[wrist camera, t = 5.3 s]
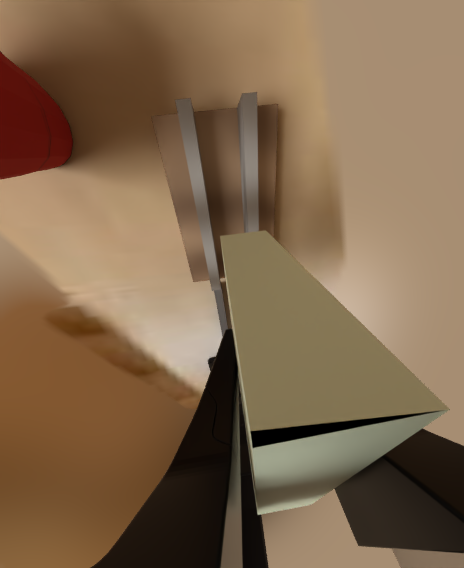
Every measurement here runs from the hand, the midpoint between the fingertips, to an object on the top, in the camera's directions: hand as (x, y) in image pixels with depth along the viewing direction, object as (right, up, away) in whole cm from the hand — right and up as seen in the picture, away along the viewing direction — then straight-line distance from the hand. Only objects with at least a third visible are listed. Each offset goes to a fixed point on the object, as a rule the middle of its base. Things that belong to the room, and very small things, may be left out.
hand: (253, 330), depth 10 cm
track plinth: (-2, +11, +9) cm, 14 cm away
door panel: (0, +1, +2) cm, 2 cm away
